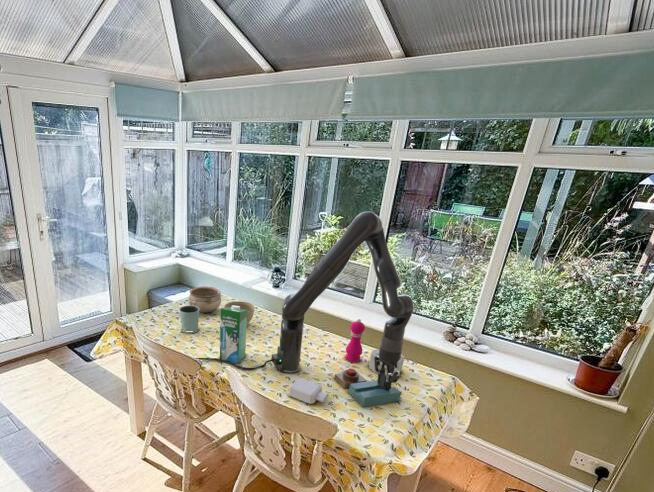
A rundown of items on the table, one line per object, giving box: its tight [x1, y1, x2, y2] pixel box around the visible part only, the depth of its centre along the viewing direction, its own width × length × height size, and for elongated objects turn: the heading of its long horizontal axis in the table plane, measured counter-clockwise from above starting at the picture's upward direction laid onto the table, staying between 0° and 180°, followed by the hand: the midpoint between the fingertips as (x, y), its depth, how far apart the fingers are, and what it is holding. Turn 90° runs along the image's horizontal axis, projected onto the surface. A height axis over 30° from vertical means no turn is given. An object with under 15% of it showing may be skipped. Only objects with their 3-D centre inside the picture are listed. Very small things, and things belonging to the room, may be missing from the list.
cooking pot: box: [187, 286, 222, 314], centre depth 237 cm, size 25×19×12 cm
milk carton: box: [219, 305, 248, 365], centre depth 183 cm, size 9×9×25 cm
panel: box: [334, 369, 368, 389], centre depth 169 cm, size 10×8×4 cm
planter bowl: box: [223, 300, 256, 327], centre depth 220 cm, size 16×16×11 cm
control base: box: [348, 379, 402, 408], centre depth 159 cm, size 16×10×5 cm, turn 106°
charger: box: [288, 377, 333, 405], centre depth 157 cm, size 5×9×15 cm
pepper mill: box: [345, 318, 366, 363], centre depth 184 cm, size 7×7×20 cm
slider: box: [379, 372, 390, 389], centre depth 159 cm, size 3×3×6 cm
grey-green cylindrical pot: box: [178, 305, 200, 334], centre depth 213 cm, size 10×10×12 cm
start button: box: [347, 368, 357, 376], centre depth 168 cm, size 3×3×2 cm
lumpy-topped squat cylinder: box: [368, 348, 405, 375], centre depth 178 cm, size 10×13×9 cm
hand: (383, 386), depth 159 cm, fingers open, 3 cm apart
